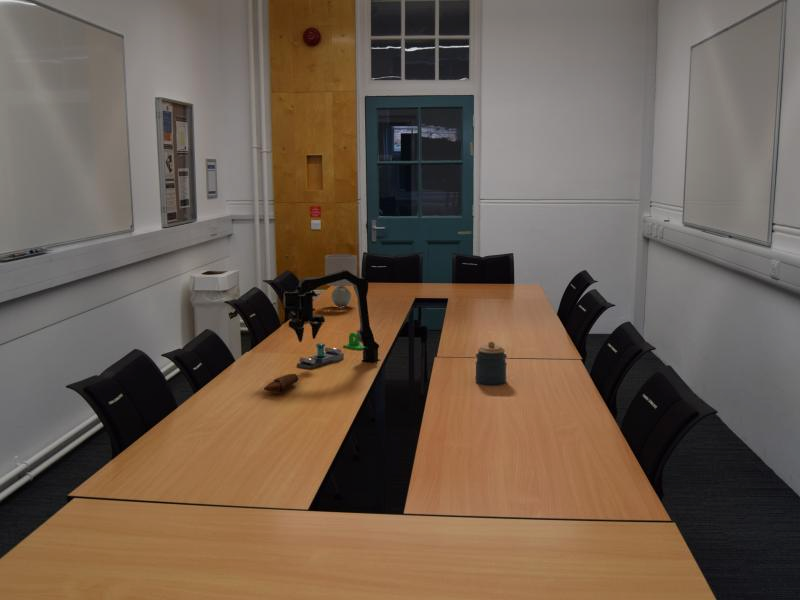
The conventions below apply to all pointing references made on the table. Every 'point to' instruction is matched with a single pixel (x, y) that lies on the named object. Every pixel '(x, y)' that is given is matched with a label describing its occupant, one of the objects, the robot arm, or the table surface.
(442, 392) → the table surface
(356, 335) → the mechanical part
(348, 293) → the lamp
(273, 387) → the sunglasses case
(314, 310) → the robot arm
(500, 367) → the canister
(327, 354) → the plate
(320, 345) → the pin
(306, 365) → the lower chain end
